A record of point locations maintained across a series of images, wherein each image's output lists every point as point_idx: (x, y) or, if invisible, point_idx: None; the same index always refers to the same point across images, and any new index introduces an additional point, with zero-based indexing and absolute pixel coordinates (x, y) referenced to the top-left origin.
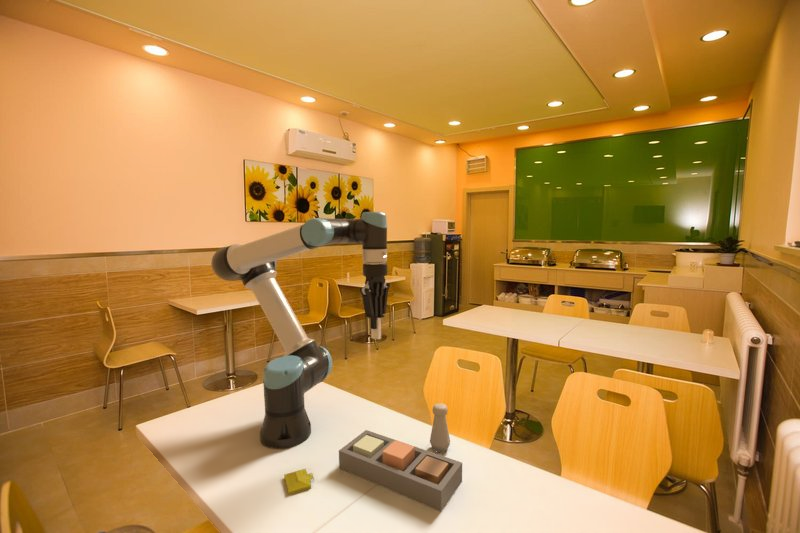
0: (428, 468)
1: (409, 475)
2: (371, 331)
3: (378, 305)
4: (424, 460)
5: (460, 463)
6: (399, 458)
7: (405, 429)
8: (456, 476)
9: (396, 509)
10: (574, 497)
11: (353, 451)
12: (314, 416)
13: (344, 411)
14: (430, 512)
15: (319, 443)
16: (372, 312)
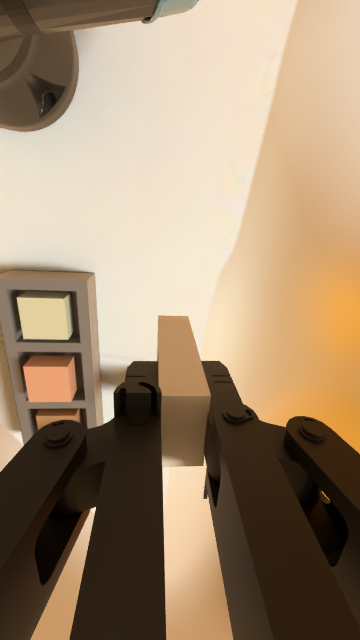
0: None
1: (23, 410)
2: (159, 334)
3: (236, 607)
4: (62, 418)
5: None
6: (29, 396)
7: (184, 307)
8: None
9: (2, 390)
10: None
11: (22, 294)
12: (126, 57)
13: (189, 128)
14: None
15: (42, 174)
16: (36, 560)
